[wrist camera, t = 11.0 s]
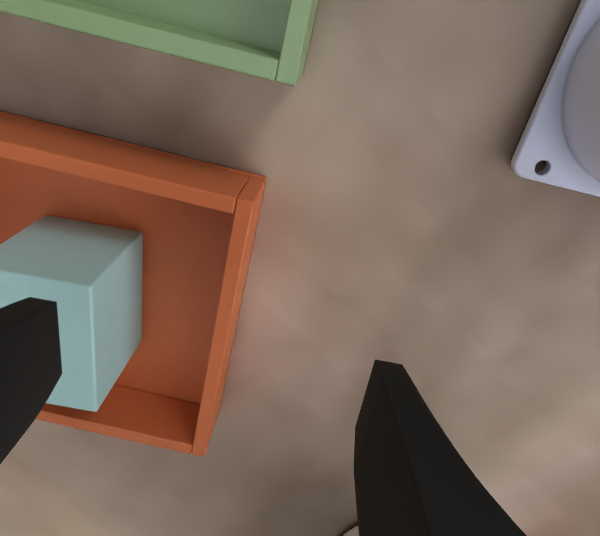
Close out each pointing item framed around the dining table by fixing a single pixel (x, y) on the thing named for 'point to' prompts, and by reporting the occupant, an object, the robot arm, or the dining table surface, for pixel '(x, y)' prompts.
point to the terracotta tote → (146, 266)
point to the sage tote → (194, 29)
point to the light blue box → (81, 298)
